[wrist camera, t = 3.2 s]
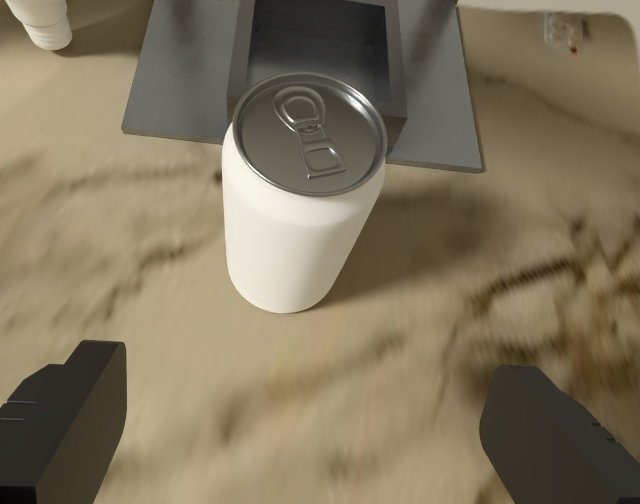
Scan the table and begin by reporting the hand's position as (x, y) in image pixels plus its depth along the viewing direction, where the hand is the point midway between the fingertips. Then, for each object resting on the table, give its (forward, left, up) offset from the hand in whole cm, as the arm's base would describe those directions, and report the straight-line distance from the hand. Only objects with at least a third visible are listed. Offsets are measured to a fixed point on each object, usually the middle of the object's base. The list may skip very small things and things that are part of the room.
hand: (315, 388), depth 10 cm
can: (-7, +7, -15) cm, 18 cm away
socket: (-18, +21, -15) cm, 31 cm away
